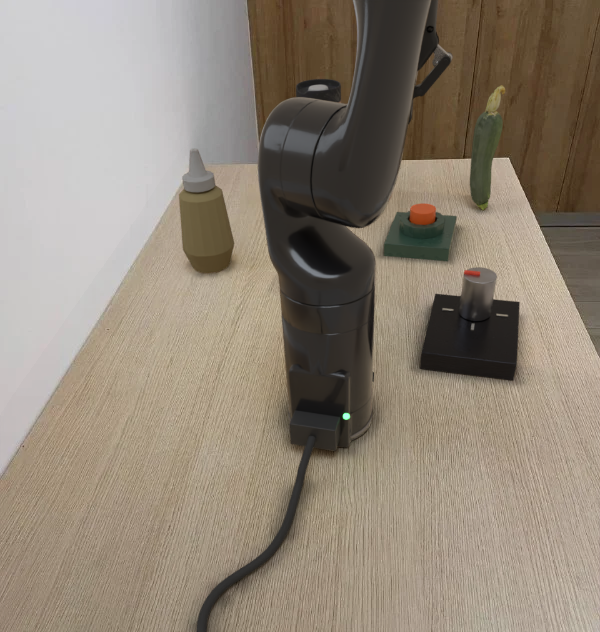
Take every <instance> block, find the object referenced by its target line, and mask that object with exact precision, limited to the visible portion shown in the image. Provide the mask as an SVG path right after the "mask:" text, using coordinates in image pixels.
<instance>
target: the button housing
mask: <svg viewBox="0 0 600 632" xmlns="http://www.w3.org/2000/svg"><path fill="white" fill-rule="evenodd" d="M457 219H458V217H457V215H449V214H442V213H441V212H438V211H436V216H435V222H434V223H432V224H428V225H418V224H414V223H411V222H410V210H408V211H405V212H404V211H396V213H395V215H394V217H393V220H392V223H391V225H390V228H389V230H388V234H387V235H386V238H385V241H384V242H383V257H392V258H403V259H415V260H425V261H436V262H437V261H439V262H449V259H450V255H451V249H452V246H453V242H454V238H455V237H454V236H455V231H456V227H457Z"/></svg>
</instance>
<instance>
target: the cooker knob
mask: <svg viewBox="0 0 600 632" xmlns="http://www.w3.org/2000/svg"><path fill="white" fill-rule="evenodd" d="M497 279H498V275H497V273H496V271H494V270H493V269H490V268H487V267H480V266H479V267H478V266H476V267H475V266H474V267H470V268H468V269H464V271H463V275H462V284H461V290H460V291H461V292H460V296H461V298H460V306H459V314H460V315H461V316H462V317H463V318H465V319H467V320H471V321H482V320H486V319H487V318H489V317H490V315H491V310H492V304H493V299H494V297H495V291H496V286H497V281H498V280H497Z"/></svg>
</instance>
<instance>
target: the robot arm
mask: <svg viewBox="0 0 600 632" xmlns="http://www.w3.org/2000/svg"><path fill="white" fill-rule="evenodd" d="M352 4H353V8H354V15H355V22H356V32H357V33H356V53H355V54H356V55H355V64H354V70H353V77H352V83H351V88H350V93H349V98H348V102H347V103H344V102H341V103H338V102H332V101H326V100H320V99H313V98H305V97H296V96H295V97H291V98H287V99H285V100H283V101H281V102H280V103H278V104H277V105H276V106H275V107H274V108H273V109H272V111H271V112H269V115H268V117H267V118H266V120H265V122H264V125H263V128H262V130H261V134H260V139H259V143H258V150H257V180H258V189H259V196H260V202H261V210H262V217H263V222H264V223H263V224H264V231H265V238H266V245H267V246H266V247H267V251H268V255H269V259H270V262H271V264H272V266H273V268H274V269H275V271H276V273H277V277H278V286H279V301H280V310H281V311H280V312H281V326H282V340H283V353H284V364H285V378H286V390H287V392H286V393H287V400H288V414H287V415H288V422H289V423H288V425H289V427H288V428H289V437H290V444H291V445H295V446H302V447H304V449H303V451H302V454H301V458H300V461H299V464H298V468H297V471H296V476H295V481H294V485H293V488H292V492H291V495H290V499H289V501H288V506H287V510H286V513H285V515H284V518H283V521H282V523H281V526H280V528H279V529H278V531H277V533H276V535H275V536H274V538H273V539H272V541H271V542H270V543H269V545H268V546H267V547H266V548H265V550H263V551H262V552H261V553H260V554H259V555H258V556H257V557H255V558H254V559H253V560H251V561H249V562H248V563H247V564H245V565H244V566H242V567H240V568H239V569H237V570H235V571H234V572H232V573H231V574H230V575H228V576H227V577H225V578H224V579H223V580H222V581H220V582H219V583H218V584H217V585H216V586H214V588H213V589H212V590H211V591H210V592H209V594H208V595H207V596H206V598H205V600H204V601H203V603H202V605H201V607H200V610H199V612H198V616H197V622H196V632H208V622H209V617H210V614H211V611H212V608H213V607H214V605H215V603H216V602H217V601H218V599H219V598H220V597H221V595H223V593H224V592H226V590H228V589H229V588H230V587H231V586H233V585H234V584H236V583H237V582H239V581H241V580H242V579H243V578H245V577H247V576H248V575H250V574H251V573H252V572H255V570H257V569H258V568H260V567H261V566H263V564H265V563H266V562H267V561H268V560H270V558H272V556H273V555H275V553H276V552H277V551H278V550H279V548H280V547H281V545H282V544H283V542H284V540H285V539H286V537H287V535H288V533H289V531H290V529H291V527H292V524H293V521H294V519H295V515H296V511H297V508H298V504H299V501H300V497H301V493H302V490H303V486H304V484H305V483H304V482H305V479H306V473H307V471H308V465H309V462H310V459H311V457H312V454H313V451H314V448H315V449H319V450H326V451H333V452H336V451H337V449H338V447H339V448H340V447H341V448H344V449H345V448H346V449H347V448H349V447H350V445H351V443H352V441H354V440H356V439H358V438H360V437H361V436H362V435H364V434H365V433H366V432H367V431H368V430H369V429H370V427H371V425H372V422H373V417H374V415H373V412H374V411H373V383H375V372H374V345H375V343H374V342H375V311H376V288H377V287H376V286H377V283H376V282H377V260H376V256H375V254H374V251H373V250H372V248H371V247H370V246H369V244H367V243H366V242H365V241H364V240H362V239H361V238H360V237H359V236H358V235H357V234H356V233H354V232H353V231H352V230H351V229H350V228H353V229H364V228H365V229H366V228H367V227H369V226H371V225H373V224H374V223H376V222H377V220H379V218H380V217H381V216H382V215H383V213H385V210H386V208H387V206H388V204H389V203H390V200H391V198H392V196H393V192H394V190H395V188H396V185H397V182H398V178H399V175H400V169H401V166H402V161H403V155H404V150H405V145H406V140H407V135H408V128H409V125H410V123H411V121H412V119H413V110H414V99H416V98H418V97H424V96H425V95H426V94H427V93H428V91H429V90H430V89H431V88H432V87H433V85H434V84H435V83H436V82H437V80H438V79H439V78H440V77H441V76H442V75H443V73H444V72H445V70H447V68H448V67H449V66H450V64H451V62H452V61H453V58H454V56H453V54H452V53H451V51H450V52H449V51H448V52H447V51H446V50H445V49H444V48H443V47H442V46H441V45H440V38H439V35H438V32H437V21H438V20H437V19H438V10H439V0H352ZM431 56H433V59H432V63H431V64H432V66H433V68H432V69H431V70H430V71H429V73H428V74H427V75H426V76H425V78H424V79H423V80H422V81H421V83H419V84H417V78H418V73H419V71H420V70H421V69H422V68H423V67H424V66H425V64H426V63H427V62H428V61H429V59H430V58H431Z"/></svg>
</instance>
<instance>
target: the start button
mask: <svg viewBox="0 0 600 632" xmlns="http://www.w3.org/2000/svg"><path fill="white" fill-rule="evenodd" d="M409 211H410V222H411V223H414V224H418V225H428V224H432V223H434V222H435V216H436V212H437V207H436V206H435V205H433V204H430V203H424V202H423V203H422V202H421V203H415V204H413V205H412V206H410V208H409Z"/></svg>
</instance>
